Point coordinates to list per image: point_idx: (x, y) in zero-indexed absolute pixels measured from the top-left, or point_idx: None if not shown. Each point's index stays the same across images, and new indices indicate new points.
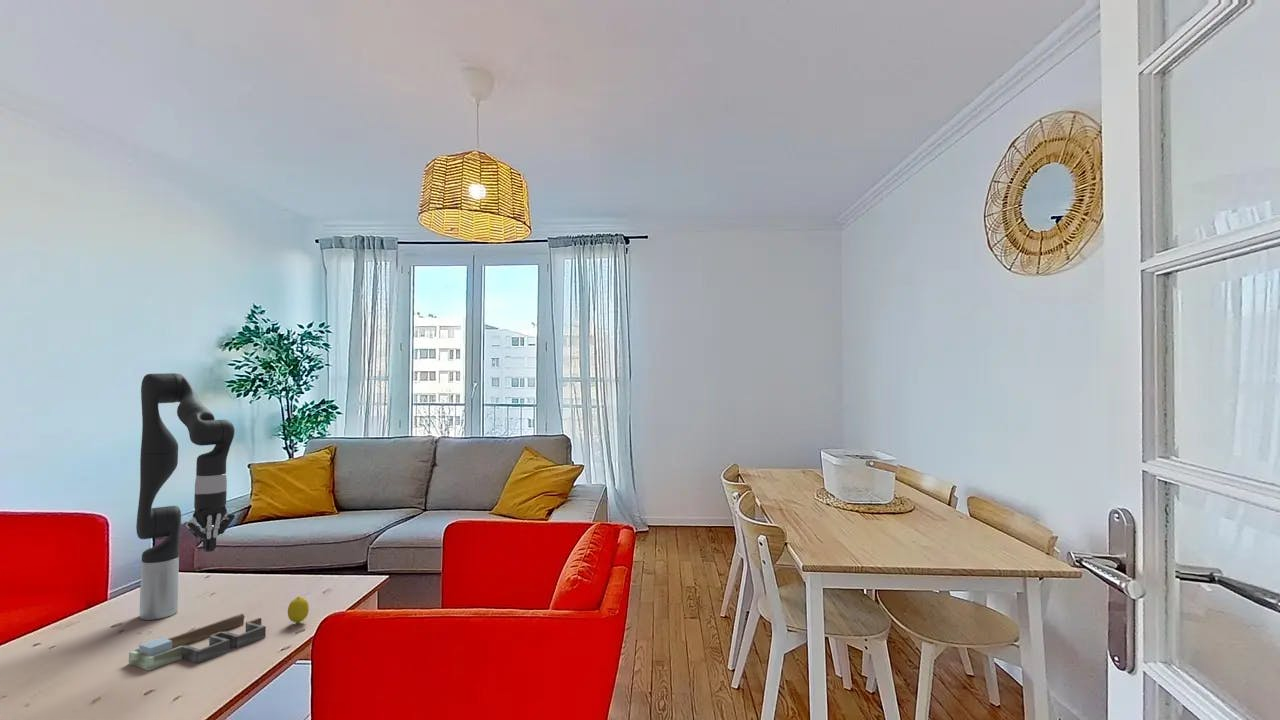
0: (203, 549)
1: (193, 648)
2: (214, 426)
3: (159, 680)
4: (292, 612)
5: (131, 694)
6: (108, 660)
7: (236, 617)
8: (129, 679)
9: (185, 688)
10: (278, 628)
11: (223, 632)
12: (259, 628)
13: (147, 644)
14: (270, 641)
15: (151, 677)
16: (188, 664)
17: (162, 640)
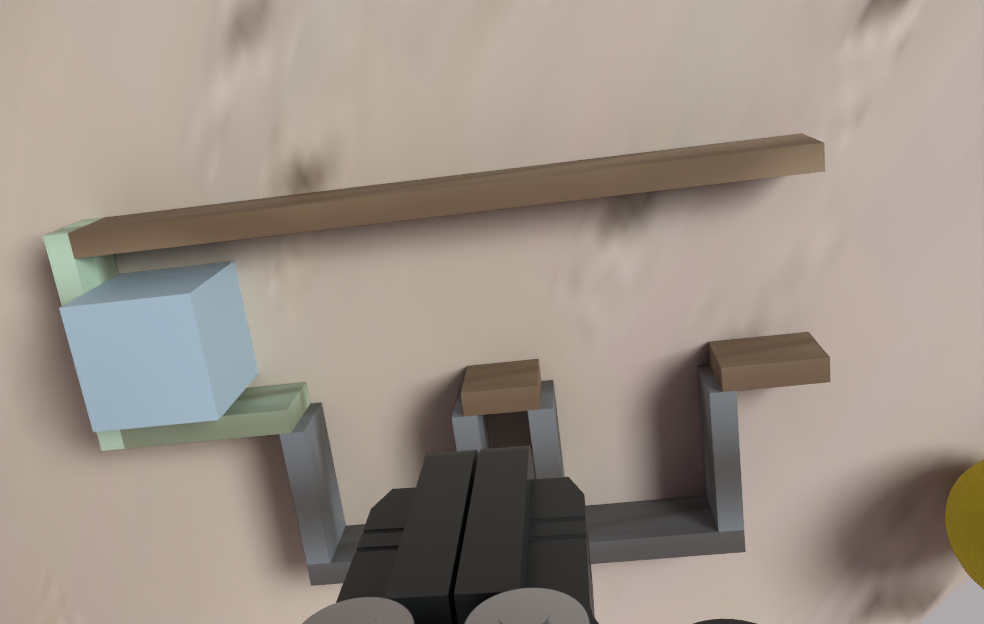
0: (386, 508)
1: (311, 519)
2: None
3: (135, 581)
4: (962, 564)
5: (11, 621)
6: (10, 41)
7: (759, 178)
8: (39, 445)
9: None
10: (866, 448)
11: (537, 420)
12: (702, 550)
13: (95, 350)
14: (706, 596)
15: (119, 514)
16: (292, 515)
17: (179, 359)
